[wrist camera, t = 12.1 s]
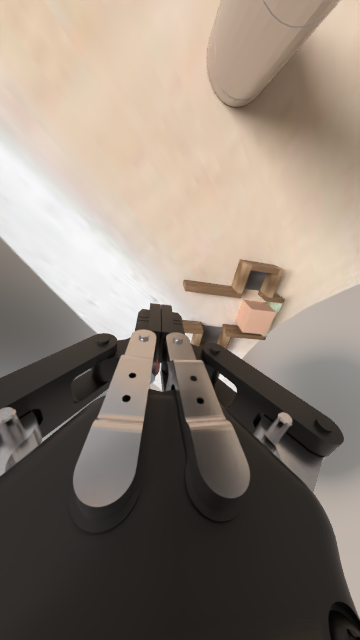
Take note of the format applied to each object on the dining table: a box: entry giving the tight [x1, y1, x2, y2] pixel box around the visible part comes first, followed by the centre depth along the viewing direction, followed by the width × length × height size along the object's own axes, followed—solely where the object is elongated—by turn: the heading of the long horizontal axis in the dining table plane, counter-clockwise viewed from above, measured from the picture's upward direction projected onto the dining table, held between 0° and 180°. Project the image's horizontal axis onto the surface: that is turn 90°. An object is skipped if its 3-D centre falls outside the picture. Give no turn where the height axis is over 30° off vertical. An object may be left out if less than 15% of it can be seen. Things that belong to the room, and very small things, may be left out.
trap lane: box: [182, 260, 285, 349], centre depth 43 cm, size 23×22×4 cm
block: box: [235, 300, 277, 335], centre depth 44 cm, size 6×6×5 cm
